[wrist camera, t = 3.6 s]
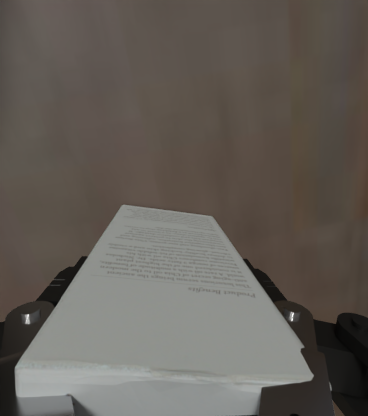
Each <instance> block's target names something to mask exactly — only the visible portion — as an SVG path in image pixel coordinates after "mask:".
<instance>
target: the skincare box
mask: <svg viewBox="0 0 368 416" xmlns="http://www.w3.org/2000/svg"><path fill="white" fill-rule="evenodd" d="M301 348H304V345H303V344H302V343H301V341H300V340H299V338H298V337H297V335H296V334H295V333H294V331H293V330H292V329H291V327H290V326H289V324H288V323H287V321H286V320H285V319H284V317H283V316H282V314H281V313H280V312H279V310H278V309H277V307H276V306H275V305H274V303H273V302H272V300H271V299H270V298H269V296H268V295H267V293H266V292H265V290H264V289H263V288H262V286H261V285H260V283H259V282H258V281H257V279H256V278H255V276H254V275H253V273H252V272H251V270H250V269H249V268H248V266H247V265H246V263H245V262H244V260H243V259H242V258H241V256H240V255H239V253H238V252H237V251H236V249H235V248H234V246H233V245H232V243H231V242H230V240H229V239H228V238H227V236H226V235H225V233H224V232H223V230H222V229H221V228H220V226H219V225H218V223H217V222H216V221H215V219H214V218H213V217H212V216H206V215H199V214H191V213H184V212H176V211H169V210H161V209H153V208H145V207H137V206H130V205H122V206H121V207H120V209H119V211H118V212H117V214H116V215H115V217H114V218H113V220H112V221H111V223H110V224H109V226H108V227H107V229H106V230H105V232H104V233H103V235H102V236H101V238H100V239H99V241H98V242H97V244H96V245H95V247H94V248H93V250H92V251H91V253H90V255H89V256H88V258H87V259H86V261H85V262H84V264H83V265H82V267H81V268H80V270H79V271H78V273H77V274H76V276H75V277H74V279H73V280H72V282H71V284H70V285H69V287H68V288H67V290H66V291H65V293H64V294H63V296H62V297H61V299H60V301H59V302H58V304H57V305H56V307H55V308H54V310H53V311H52V313H51V314H50V316H49V317H48V318H47V320H46V321H45V323H44V324H43V326H42V327H41V329H40V330H39V332H38V333H37V335H36V336H35V338H34V339H33V341H32V342H31V344H30V345H29V347H28V348H27V350H26V351H25V353H24V354H23V355H22V357H21V358H20V360H19V362H18V363H17V365H16V367H15V388H16V395H17V396H18V397H42V396H61V395H71V398H72V404H73V410H74V415H75V416H241V415H258V409H259V403H260V396H261V389H262V387H266V386H274V385H282V384H289V383H301V382H305V381H311V380H312V378H313V376H314V375H313V374H312V372H311V371H310V369H309V367H308V365H307V363H306V361H305V359H304V358H303V356H302V354H301V352H300V351H301ZM329 384H330V382H329ZM330 389H331V384H330ZM331 390H332V389H331Z"/></svg>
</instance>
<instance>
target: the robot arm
mask: <svg viewBox="0 0 368 416" xmlns="http://www.w3.org/2000/svg"><path fill="white" fill-rule="evenodd" d="M87 258H88V256H82V257H81V258H80V260H79V261H78V262H77V264H76V265H75V266H74V267H68V268H66V269H64V270H63V271H61V272H59V274H58V275H57V276H56V277H55V278H54V280H53V281H52V282H51V283H50V285H49V286H48V287H47V288H46V289H45V290H44V292H43V293H42V294H41V295H40V296H39V298H38V299H37V300H36V301H34V302H29V303H26V304H23V305H21V306H18V307H17V308H15V309H13V310H12V311H11V312H10V313H9V314H8V315H7V316H6V318H5V321H4V322H0V416H75V415H74V410H73V404H72V398H71V395H61V396H42V397H18V396H17V395H16V388H15V367H16V365H17V363H18V362H19V360H20V358H21V357H22V355H23V354H24V353H25V351H26V350H27V348H28V347H29V345H30V344H31V342H32V341H33V339H34V338H35V336H36V335H37V333H38V332H39V330H40V329H41V327H42V326H43V324H44V323H45V321H46V320H47V318H48V317H49V316H50V314H51V313H52V311H53V310H54V308H55V307H56V305H57V304H58V302H59V301H60V299H61V297H62V296H63V294H64V293H65V291H66V290H67V288H68V287H69V285H70V284H71V282H72V280H73V279H74V277H75V276H76V274H77V273H78V271H79V270H80V268H81V267H82V265H83V264H84V262H85V261H86V259H87ZM243 260H244V262H245V263H246V265H247V266H248V268H249V269H250V270H251V272H252V273H253V275H254V276H255V278H256V279H257V281H258V282H259V283H260V285H261V286H262V288H263V289H264V290H265V292H266V293H267V295H268V296H269V298H270V299H271V300H272V302H273V303H274V305H275V306H276V307H277V309H278V310H279V312H280V313H281V314H282V316H283V317H284V319H285V320H286V321H287V323H288V324H289V326H290V327H291V329H292V330H293V331H294V333H295V334H296V335H297V337H298V338H299V340H300V341H301V343H302V344H303V345H304V348H301V351H300V352H301V354H302V356H303V358H304V359H305V361H306V363H307V365H308V367H309V369H310V371H311V372H312V374H313V375H314V376H313V378H312V380H311V381H305V382H301V383H289V384H282V385H274V386H266V387H262V389H261V396H260V403H259V409H258V415H241V416H335V413H334V407H333V401H334V402H335V404H336V405H337V406H338V407H339V409H340V410H341V411H342V413H343V414H344V415H345V416H368V318H367V317H364V316H361V315H358V314H354V313H342V314H340V315H338V318H337V322H336V324H333V323H328V322H323V321H318V320H314V319H313V316H312V314H311V313H310V311H309V310H307V309H306V308H305V307H303V306H302V305H299V304H297V303H294V302H291V301H287V299H286V298H285V297H284V296H283V294H282V293H281V292H280V291H279V289H278V288H277V287H275V284H274V283H273V282H271V279H270V278H269V277H268V276H267V274H265V273H264V272H262V271H261V270H259V269H254V268H253V266H252V265H251V264H250V262H249V261H248V260H247V259H243ZM329 382H330V384H331V389H332V390H331V389H330V384H329ZM332 400H333V401H332Z"/></svg>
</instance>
